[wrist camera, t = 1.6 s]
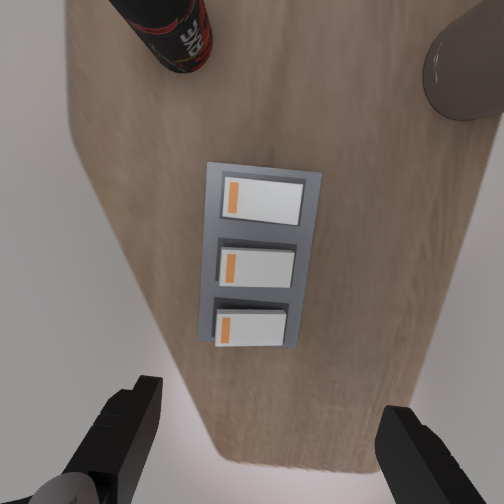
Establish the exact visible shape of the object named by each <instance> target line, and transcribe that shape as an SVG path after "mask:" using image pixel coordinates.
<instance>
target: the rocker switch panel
mask: <svg viewBox="0 0 504 504" xmlns="http://www.w3.org/2000/svg"><path fill="white" fill-rule="evenodd" d="M225 177H234V178H244V179H254V180H264V181H274V182H283V183H293V184H303V188H302V195H301V203H300V210H299V218H298V225H291V224H283V223H274V222H266V221H258V220H249V219H241V218H233V217H224V216H223V203H224V189H225ZM321 180H322V173H318V172H308V171H298V170H288V169H278V168H267V167H257V166H247V165H237V164H226V163H216V162H207V178H206V196H205V214H204V232H203V251H202V269H201V287H200V305H199V323H198V341H209V342H215V329H216V315H217V309H237V310H247V309H253V310H284V311H285V313H286V320H285V328H284V335H283V343H282V345H281V346H270V347H282V348H294V349H297V343H298V336H299V329H300V322H301V315H302V309H303V302H304V295H305V288H306V281H307V275H308V268H309V261H310V254H311V248H312V241H313V234H314V227H315V220H316V214H317V207H318V200H319V193H320V186H321ZM221 247H234V248H255V249H276V250H292V251H293V252H294V261H293V268H292V276H291V283H290V288H282V287H238V286H219V273H220V259H221Z"/></svg>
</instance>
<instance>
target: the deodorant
mask: <svg viewBox="0 0 504 504" xmlns="http://www.w3.org/2000/svg"><path fill="white" fill-rule="evenodd" d="M109 1H110V2H111V4H112V5H113V6H114V7H115V8H116V10H117V11H118V12H119V13H120V14H121V16H122V17H123V18H124V19H125V20H126V22H127V23H128V24H129V25H130V27H131V28H132V29H133V30H134V31H135V33H136V34H137V35H138V36H139V37H140V39H141V40H142V41H143V42H144V43H145V45H146V46H147V47H148V48H149V49H150V51H151V52H152V53H153V54H154V55H155V57H156V58H157V59H158V60H159V61H160V63H161V64H162V65H163V66H165V67H166V68H168V69H169V70H171V71H174V72H176V73H189V72H193V71H195V70H197V69H199V68H200V67H201V66H202V65H203V64H204V63H205V62H206V61H207V59H208V57H209V55H210V52H211V49H212V42H213V36H212V30H211V26H210V22H209V19H208V15H207V12H206V8H205V4H204V1H203V0H109Z"/></svg>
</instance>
